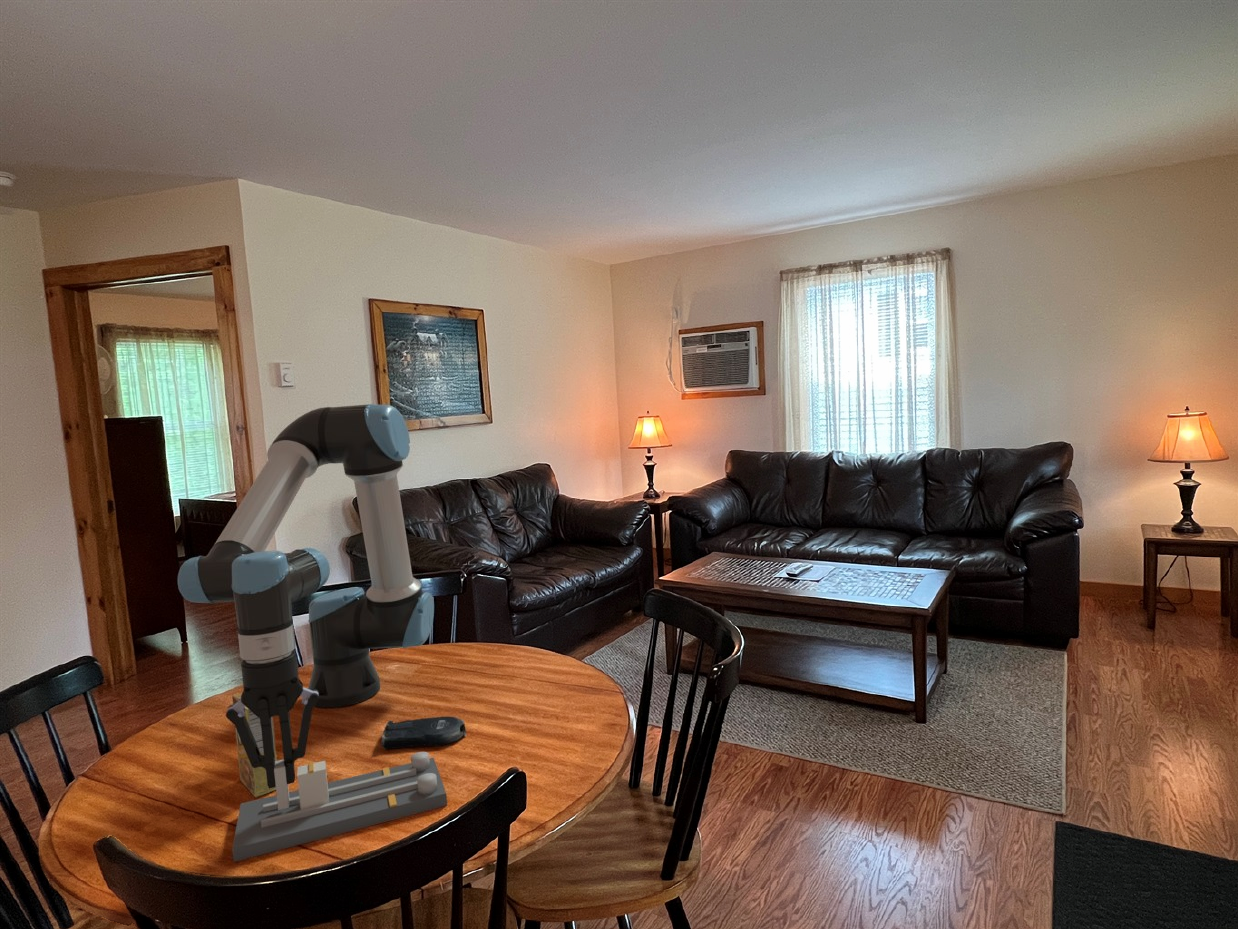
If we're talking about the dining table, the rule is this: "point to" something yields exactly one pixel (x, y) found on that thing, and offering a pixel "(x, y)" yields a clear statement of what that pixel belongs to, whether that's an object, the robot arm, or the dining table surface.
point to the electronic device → (422, 732)
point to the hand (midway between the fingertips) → (284, 804)
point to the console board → (340, 808)
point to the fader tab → (313, 785)
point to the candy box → (248, 775)
